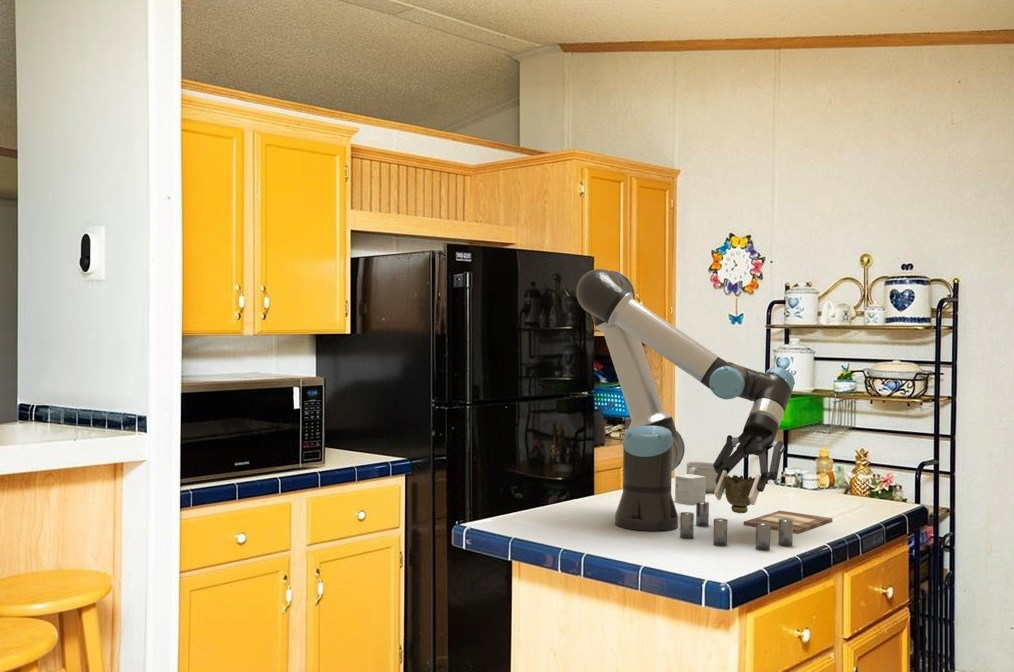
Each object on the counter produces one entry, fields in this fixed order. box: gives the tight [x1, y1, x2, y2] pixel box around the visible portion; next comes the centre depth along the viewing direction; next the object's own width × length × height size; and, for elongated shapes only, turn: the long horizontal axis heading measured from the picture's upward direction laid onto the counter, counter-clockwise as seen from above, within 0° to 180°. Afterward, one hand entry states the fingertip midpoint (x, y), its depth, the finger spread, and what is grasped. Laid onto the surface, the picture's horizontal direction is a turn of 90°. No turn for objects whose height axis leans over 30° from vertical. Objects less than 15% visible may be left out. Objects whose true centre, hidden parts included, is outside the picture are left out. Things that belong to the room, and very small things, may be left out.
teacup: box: [685, 461, 718, 493], centre depth 285 cm, size 14×11×8 cm
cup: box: [724, 474, 756, 514], centre depth 222 cm, size 8×7×8 cm
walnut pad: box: [743, 510, 833, 534], centre depth 240 cm, size 20×14×1 cm
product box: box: [674, 473, 706, 506], centre depth 267 cm, size 6×6×7 cm
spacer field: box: [679, 501, 794, 551], centre depth 223 cm, size 22×29×6 cm
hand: (734, 498), depth 219 cm, fingers closed on cup, 7 cm apart
